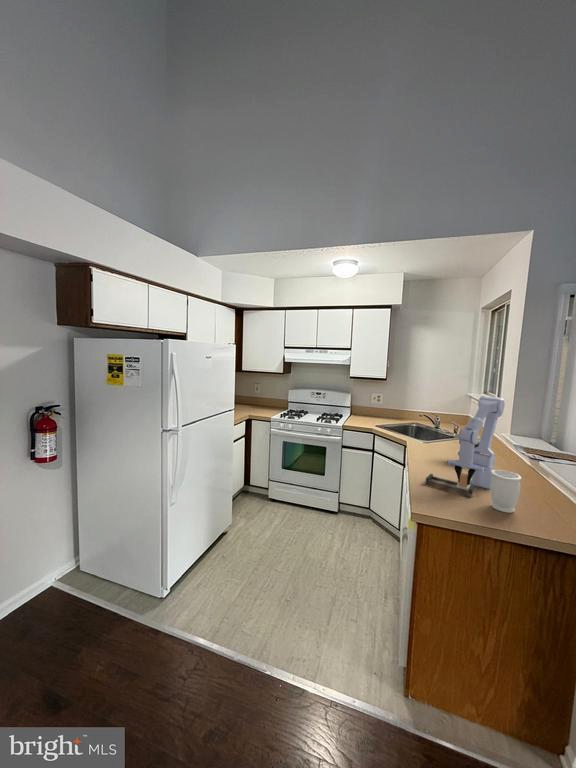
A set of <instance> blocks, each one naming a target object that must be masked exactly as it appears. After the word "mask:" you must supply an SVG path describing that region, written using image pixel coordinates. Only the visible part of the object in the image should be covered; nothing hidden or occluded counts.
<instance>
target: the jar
mask: <svg viewBox="0 0 576 768" xmlns="http://www.w3.org/2000/svg"><path fill="white" fill-rule="evenodd" d="M492 475H493V476H492V479H491V483H490V489H489V490H490V498H491V501H492V502H491V505H490V506H491V507H492V508H493V509H495V510H496V511H499V512H502V513H507V514H508V513H509V514H511V513H515V512H516V509H515V507H516V505H517V504H518V501H519V498H520V493H521V482H520V481H522V476H521V475H520V474H518V473H516V472H512V471H510V470H503V469H493V471H492Z"/></svg>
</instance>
